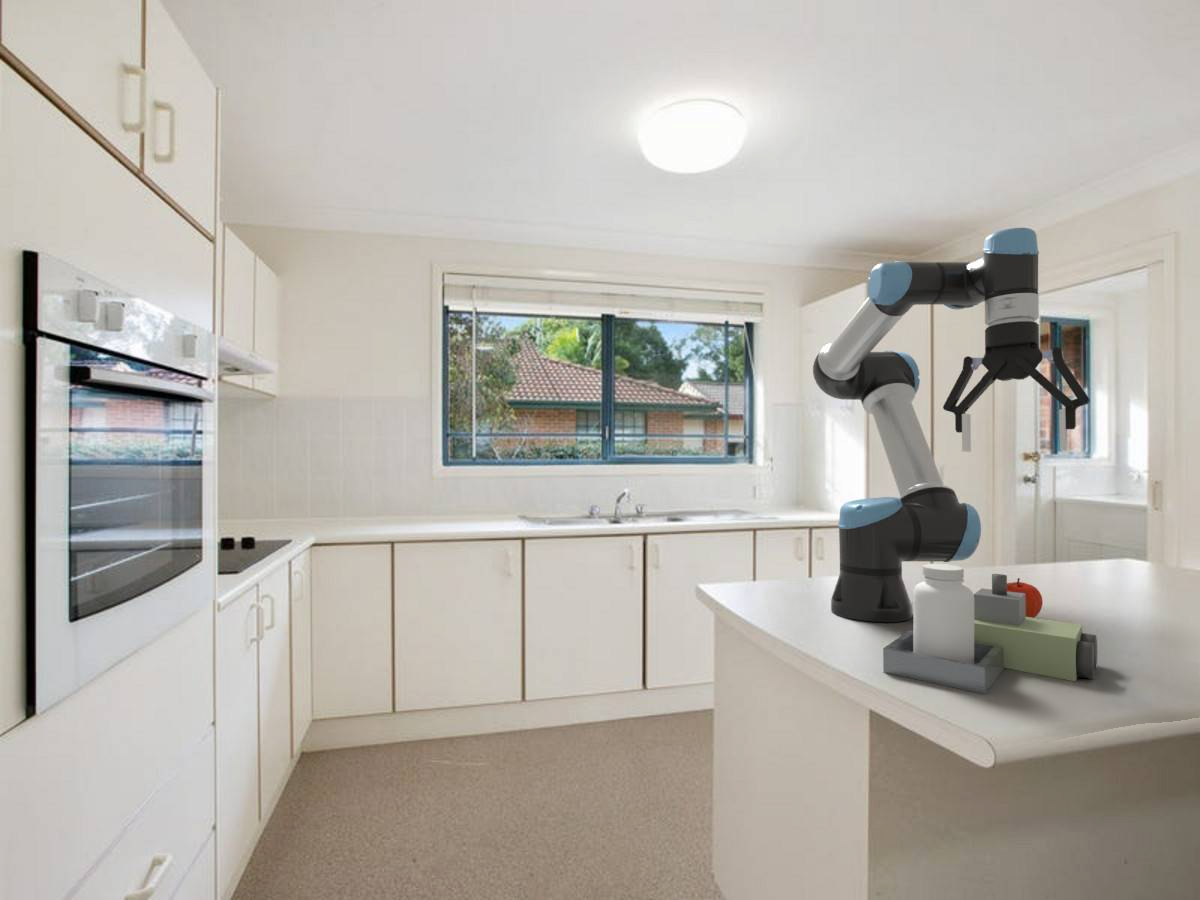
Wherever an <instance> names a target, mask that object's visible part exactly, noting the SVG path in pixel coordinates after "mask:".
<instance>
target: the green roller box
mask: <svg viewBox="0 0 1200 900" xmlns="http://www.w3.org/2000/svg"><path fill="white" fill-rule="evenodd" d="M1007 583H1008V575H1006V574H1003V573H992V574H991V589H989V588H981V589H979V590H978V591H976V592H974V593H973V595H974V641H976V642H982V643H988V644H994V645H1000V646H1003V656H1004V668H1005V669H1009V670H1015V671H1019V672H1023V673H1024V672H1025V673H1030V674H1035V675H1040V676H1045V677H1051V678H1056V679H1060V680H1067V681H1072V682H1077V680H1078V677H1079V678H1084V679H1089V680H1094V674H1095V670H1097V665H1098V637H1097V635H1096V634H1092V633H1086V632H1085V633H1084V632H1083V624H1080V623H1073V622H1065V621H1059V620H1052V619H1044V618H1037V617H1034V618H1031V617H1026V606H1025V593H1017V592H1008V591H1007Z"/></svg>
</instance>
